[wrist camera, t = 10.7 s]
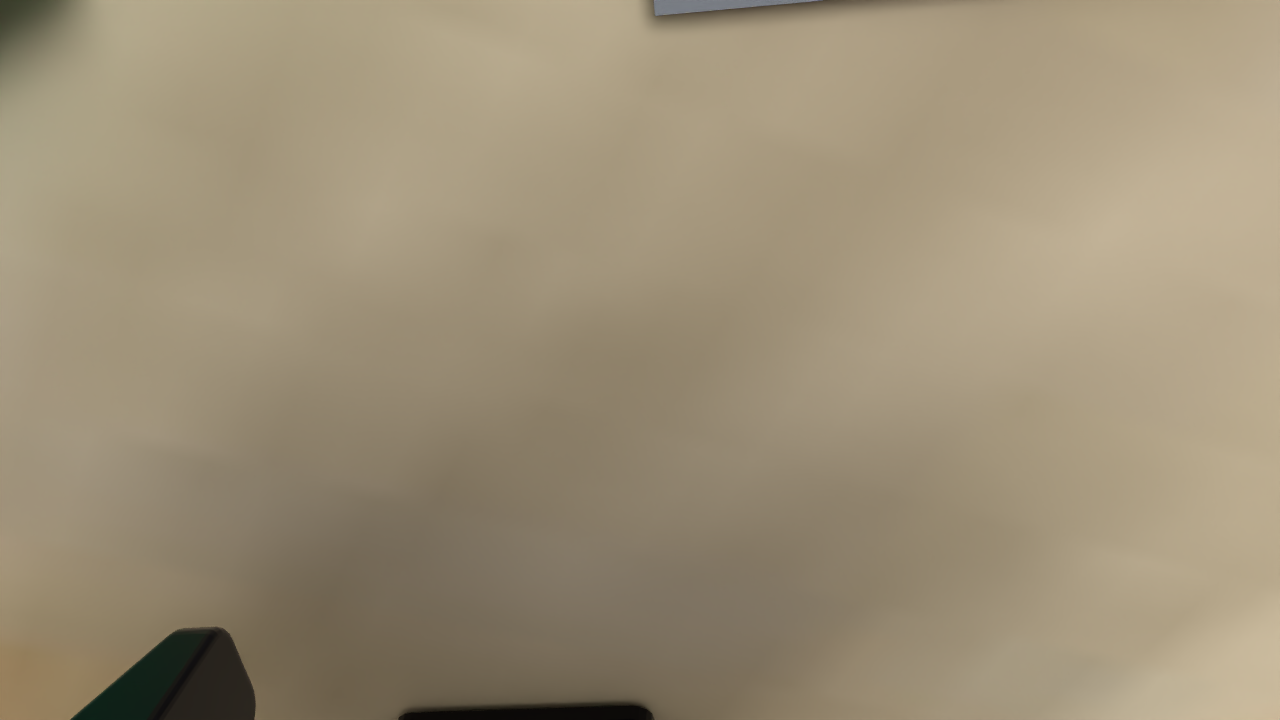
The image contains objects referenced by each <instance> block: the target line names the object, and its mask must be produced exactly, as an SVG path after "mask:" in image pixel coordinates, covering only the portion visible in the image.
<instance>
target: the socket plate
mask: <svg viewBox="0 0 1280 720" xmlns="http://www.w3.org/2000/svg"><path fill="white" fill-rule="evenodd" d="M810 1H821V0H654V9H655V16H658V15H669V14H680V13H691V12H702V11H713V10H723V9H734V8H745V7H756V6H767V5H778V4H789V3H799V2H810Z"/></svg>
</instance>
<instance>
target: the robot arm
mask: <svg viewBox="0 0 1280 720" xmlns="http://www.w3.org/2000/svg"><path fill="white" fill-rule="evenodd" d="M255 706H256V705H255V694H254V690H253V686H252V684H251V682H250V679H249V677H248V675H247V672H246V670H245V668H244V665H243V663H242V661H241V658H240V656H239V654H238V651H237V649H236V646H235V644H234V642H233V639H232V638H231V636H230V634H229V633H228V632H227V631H226V630H225V629H223V628H219V627H200V628H183V629H179V630H177V631H175V632H173V633H171V634H170V635H169V636H167V637H166V638H165V639H164V640H163V641H162V642H160V643H159V644H158V645H157V646H156V647H154V648H153V649H152V650H151V651H150V652H149V653H147V654H146V655H145V656H144V657H143V658H142V659H140V660H139V661H138V662H137V663H136V664H135V665H133V666H132V667H131V668H130V669H129V670H128V671H126V672H125V673H124V674H123V675H122V676H121V677H119V678H118V679H117V680H116V681H115V682H114V683H112V684H111V685H110V686H109V687H108V688H106V689H105V690H104V691H103V692H102V693H101V694H99V695H98V696H97V697H96V698H95V699H94V700H92V701H91V702H90V703H89V704H88V705H87V706H85V707H84V708H83V709H82V710H81V711H80V712H78V713H77V714H76V715H75V716H74V717H73V718H71V719H70V720H254V717H255ZM398 720H654V717H653V715H652V713H650V712H649V711H648V710H647V709H644V708H642V707H638V706H610V707H579V708H547V709H516V710H484V711H452V712H421V713H408V714H404V715H402V716H400V717H399V718H398Z"/></svg>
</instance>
